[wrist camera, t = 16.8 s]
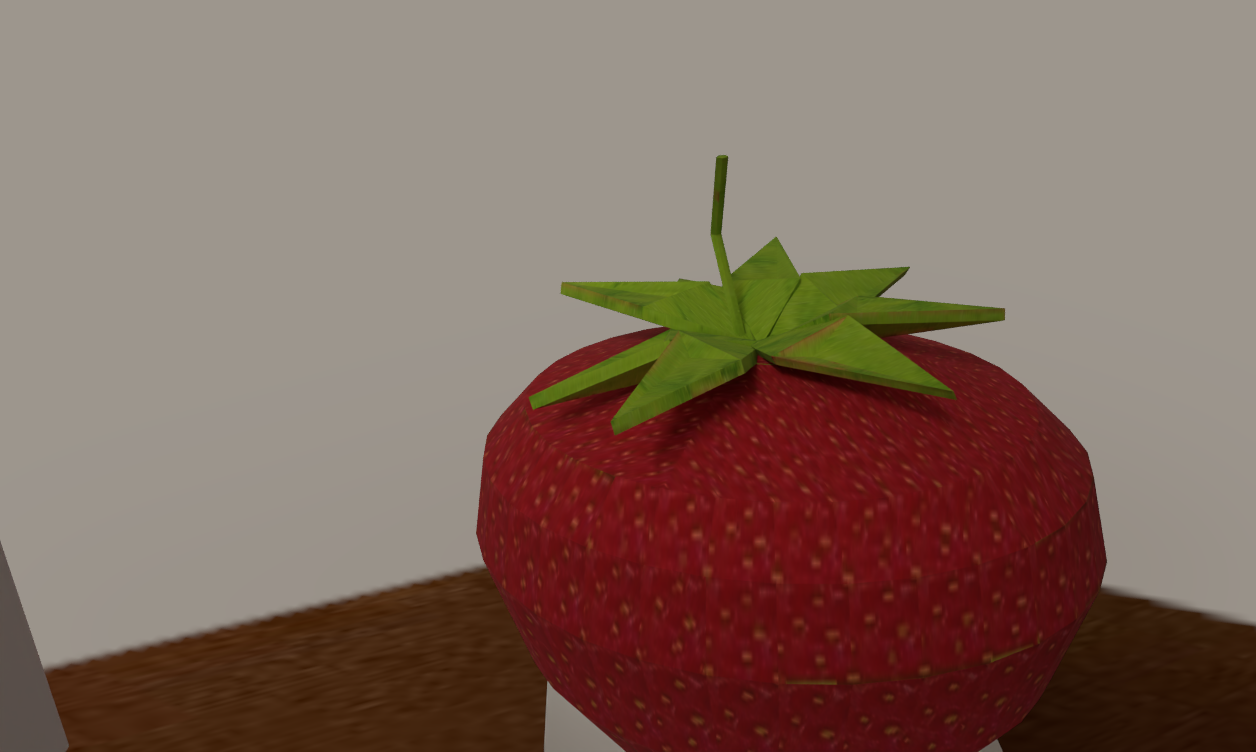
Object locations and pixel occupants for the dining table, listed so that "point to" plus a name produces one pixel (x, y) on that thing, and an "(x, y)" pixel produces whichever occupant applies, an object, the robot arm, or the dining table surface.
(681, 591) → the strawberry
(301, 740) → the dining table surface
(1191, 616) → the dining table surface
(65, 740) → the robot arm
